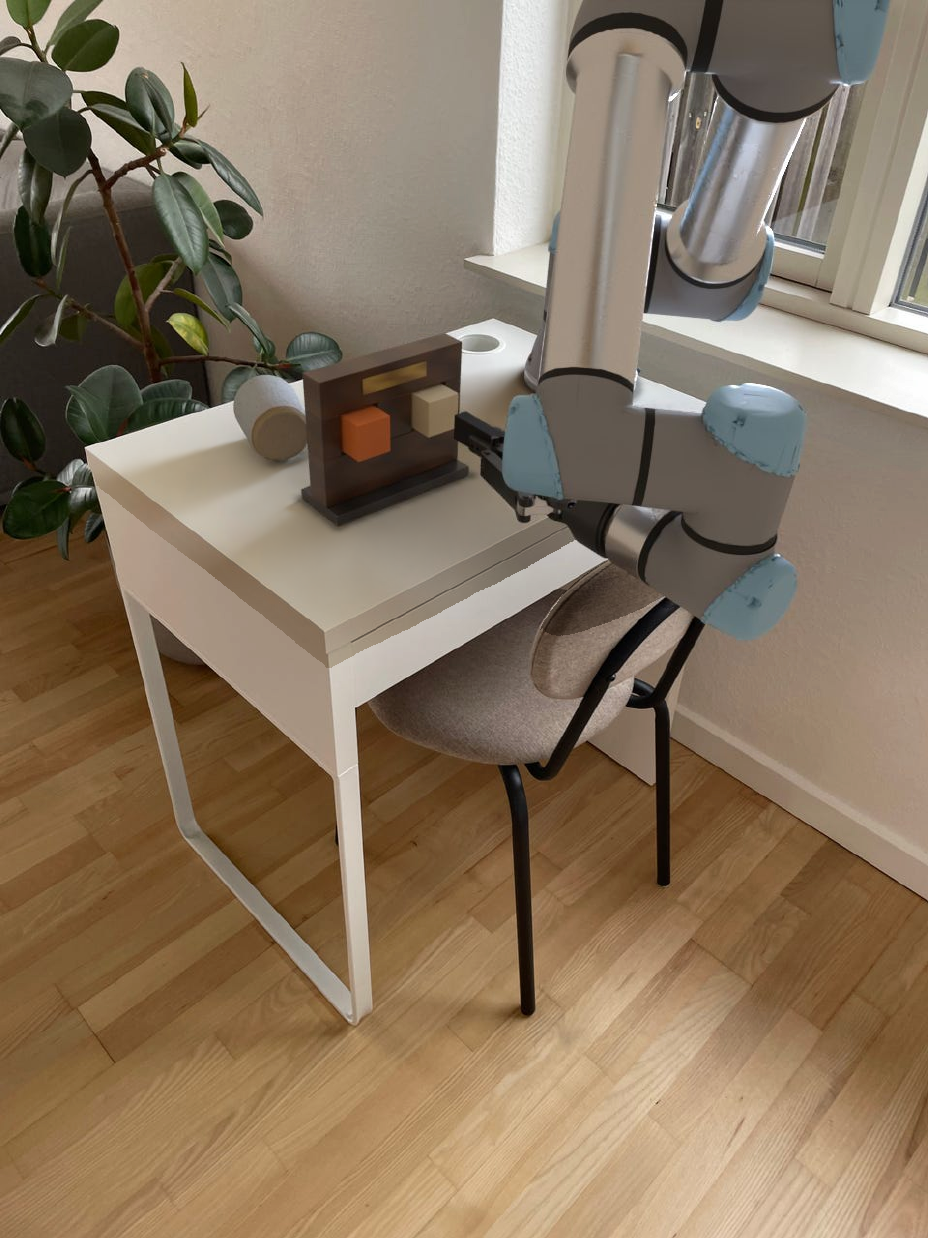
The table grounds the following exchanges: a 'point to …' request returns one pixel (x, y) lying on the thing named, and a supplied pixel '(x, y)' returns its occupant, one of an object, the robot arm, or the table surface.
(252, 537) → the table surface
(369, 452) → the orange key
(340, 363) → the brown wooden upright panel
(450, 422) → the beige key
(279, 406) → the ceramic mug
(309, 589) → the table surface
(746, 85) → the robot arm
